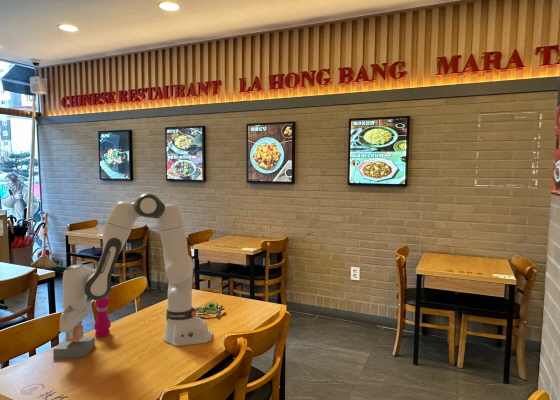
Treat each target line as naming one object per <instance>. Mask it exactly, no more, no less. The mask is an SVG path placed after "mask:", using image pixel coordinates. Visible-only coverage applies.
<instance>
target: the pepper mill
mask: <svg viewBox="0 0 560 400" xmlns="http://www.w3.org/2000/svg"><path fill="white" fill-rule="evenodd" d="M109 304H110V299H109V297H108V296H107V297H106V298H104V299H102V300H95V306H96V311H97V316H96V319H95V321H94V325H93V329H94V330H95V334H94V337H95V338H105V337H107V336H110V333H111V332H110V331H111V330H110V328H111V326H112V325H111V320H110V318H109V316H108V310H109Z"/></svg>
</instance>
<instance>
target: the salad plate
mask: <svg viewBox="0 0 560 400" xmlns="http://www.w3.org/2000/svg"><path fill="white" fill-rule="evenodd" d="M218 306H221V307H219V308H218ZM202 307H203V308H202ZM204 307H205V308H204ZM222 307H223V308H224V306H223V305H222V304H221V305H219V303H218V301H217V302H216V301H210V302H209V301H208V302H207V303H205V306H198V307H195V308H196V313H205V312H206V313H207V314H214V315H215V314H217V313H218V314H217V315H216V317H215V318H219V317H221V316H220V314H221V311H222V309H223V308H222ZM218 309H219V310H218ZM196 315H197V314H196ZM197 316H199V317H210V316H208V315H206V316H205V315H201V314H199V315H197Z"/></svg>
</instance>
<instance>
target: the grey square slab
mask: <svg viewBox="0 0 560 400" xmlns="http://www.w3.org/2000/svg"><path fill="white" fill-rule="evenodd" d="M95 346H96V336H83V337H82V338H81V339H80V340H79V341H75V342H66V337H65V338H63V340H62V341H60V342H59V343H58V344H57V345H56V346H55V347H54V348H53V351H52V352H53V353H52V354H53V359H83V358H85V357H86V356H87V355H88V354H89V353H90V351H91V350H92V349H93V348H94V347H95Z"/></svg>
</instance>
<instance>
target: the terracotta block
mask: <svg viewBox="0 0 560 400" xmlns="http://www.w3.org/2000/svg"><path fill="white" fill-rule="evenodd" d="M73 333H74V337H73V338H69V334H68V332H65V338H66V342H75V341H79V340H80V339H81V338H82V337H84V325H83V324H82V325H76V326H75V327H74V330H73Z"/></svg>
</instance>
